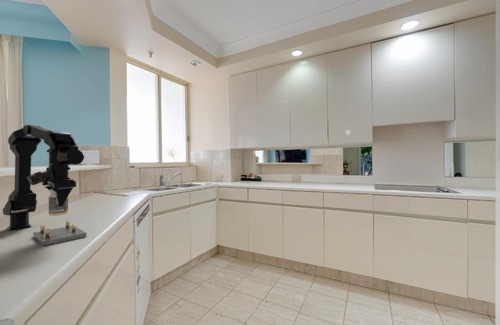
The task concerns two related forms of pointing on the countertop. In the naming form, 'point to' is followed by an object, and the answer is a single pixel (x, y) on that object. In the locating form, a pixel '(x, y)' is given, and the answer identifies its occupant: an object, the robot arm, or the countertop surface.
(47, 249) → the countertop surface
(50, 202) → the pill bottle
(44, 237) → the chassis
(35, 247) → the countertop surface
